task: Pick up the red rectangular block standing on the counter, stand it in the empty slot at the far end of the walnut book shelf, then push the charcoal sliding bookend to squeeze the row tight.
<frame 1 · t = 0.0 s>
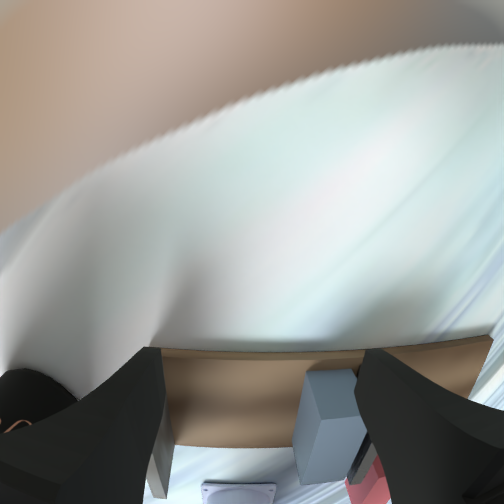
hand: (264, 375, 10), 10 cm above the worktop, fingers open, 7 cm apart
slate book: (319, 408, 23), point 1 cm above the worktop, touching book shelf
sliding bookend: (361, 428, 20), point 4 cm above the worktop, slide at 0.0 cm
coffee jar: (47, 405, 23), on the worktop
red rectangular block: (368, 460, 27), on the worktop
book shelf: (340, 398, 24), on the worktop
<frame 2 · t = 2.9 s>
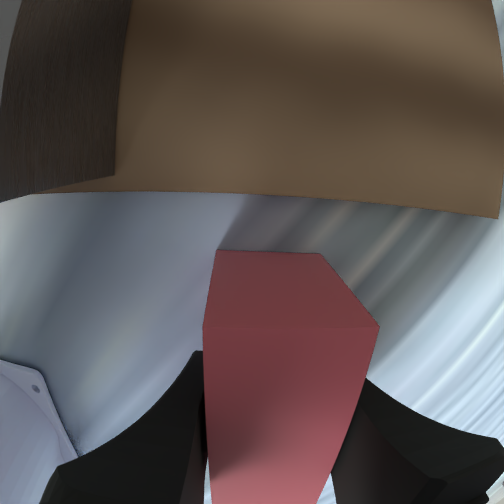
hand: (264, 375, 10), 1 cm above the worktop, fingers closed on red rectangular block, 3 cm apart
sliding bookend: (75, 2, 5), point 4 cm above the worktop, slide at 0.0 cm
red rectangular block: (261, 352, 12), on the worktop, touching gripper
book shelf: (103, 48, 8), on the worktop
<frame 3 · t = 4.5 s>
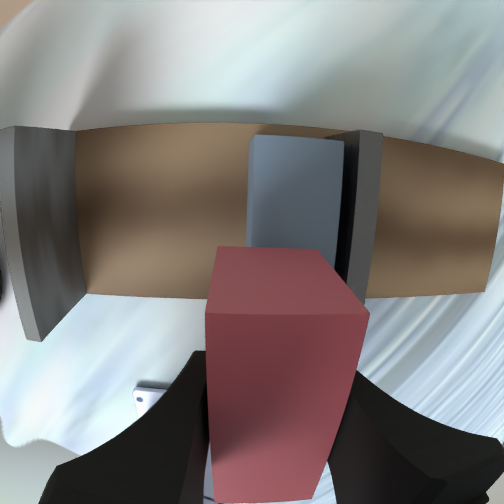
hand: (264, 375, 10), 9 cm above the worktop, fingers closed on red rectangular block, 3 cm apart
slate book: (278, 216, 17), point 1 cm above the worktop, touching book shelf
sliding bookend: (342, 228, 15), point 4 cm above the worktop, slide at 0.0 cm
red rectangular block: (261, 344, 12), point 7 cm above the worktop, touching gripper
book shelf: (310, 214, 19), on the worktop
when the fingers open (4 cm above the worktop, at t = 6.4 s): red rectangular block stays where it is, resting on book shelf.
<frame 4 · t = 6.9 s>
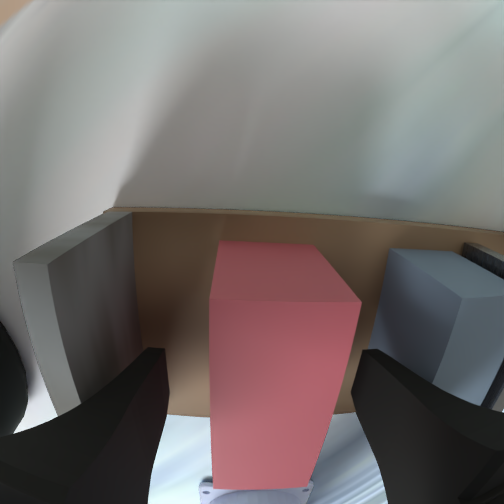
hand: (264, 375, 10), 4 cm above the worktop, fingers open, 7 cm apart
slate book: (403, 332, 13), point 1 cm above the worktop, touching book shelf
sliding bookend: (476, 356, 11), point 4 cm above the worktop, slide at 0.0 cm
red rectangular block: (259, 336, 13), point 1 cm above the worktop, touching book shelf
book shelf: (426, 320, 14), on the worktop
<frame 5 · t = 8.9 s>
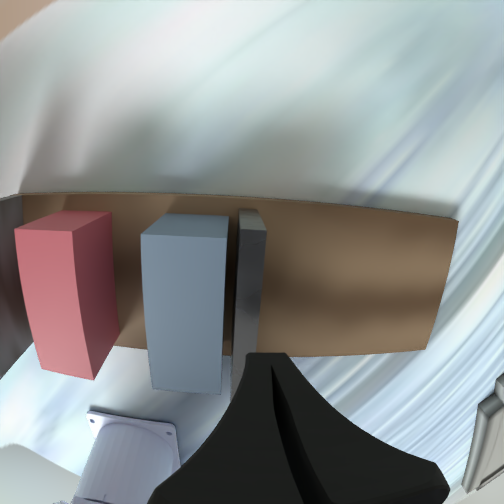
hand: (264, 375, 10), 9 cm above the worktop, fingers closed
slate book: (195, 282, 18), point 1 cm above the worktop, touching book shelf
sliding bookend: (244, 306, 16), point 4 cm above the worktop, slide at 0.0 cm
red rectangular block: (89, 275, 18), point 1 cm above the worktop, touching book shelf
book shelf: (229, 278, 19), on the worktop
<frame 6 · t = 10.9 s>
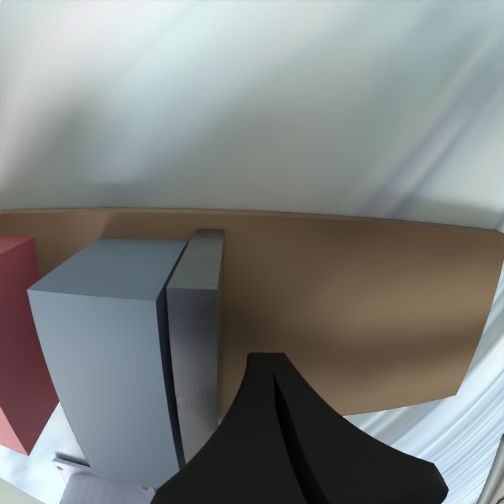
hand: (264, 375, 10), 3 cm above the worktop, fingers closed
slate book: (148, 333, 12), point 1 cm above the worktop, touching book shelf
sliding bookend: (205, 381, 10), point 4 cm above the worktop, slide at 0.2 cm, touching gripper
red rectangular block: (21, 317, 12), point 1 cm above the worktop, touching book shelf
book shelf: (198, 324, 13), on the worktop
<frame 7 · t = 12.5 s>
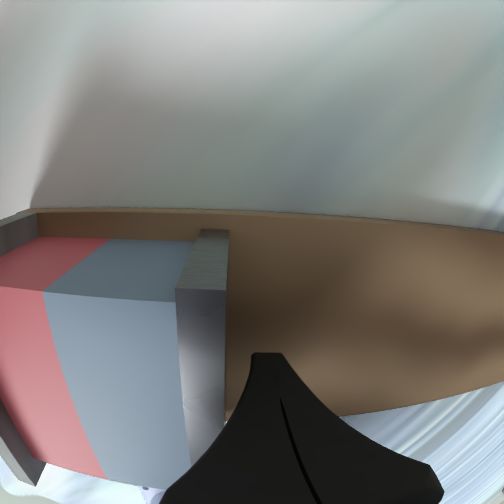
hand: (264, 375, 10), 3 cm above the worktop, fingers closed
slate book: (160, 334, 12), point 1 cm above the worktop, touching book shelf, red rectangular block, sliding bookend
sliding bookend: (210, 381, 10), point 4 cm above the worktop, slide at 7.1 cm, touching gripper, slate book
red rectangular block: (84, 327, 12), point 1 cm above the worktop, touching book shelf, slate book
book shelf: (354, 325, 14), on the worktop
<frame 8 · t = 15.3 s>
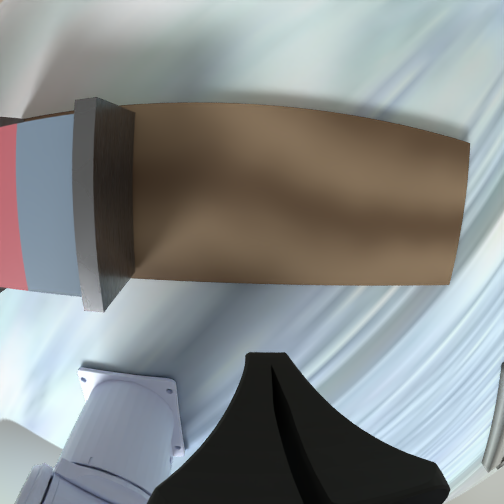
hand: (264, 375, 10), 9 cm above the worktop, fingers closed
slate book: (90, 194, 16), point 1 cm above the worktop, touching book shelf, red rectangular block, sliding bookend
sliding bookend: (106, 200, 14), point 4 cm above the worktop, slide at 7.1 cm, touching slate book
red rectangular block: (43, 195, 16), point 1 cm above the worktop, touching book shelf, slate book
book shelf: (238, 193, 18), on the worktop
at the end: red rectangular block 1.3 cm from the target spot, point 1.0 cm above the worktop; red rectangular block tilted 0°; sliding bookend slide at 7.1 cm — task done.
